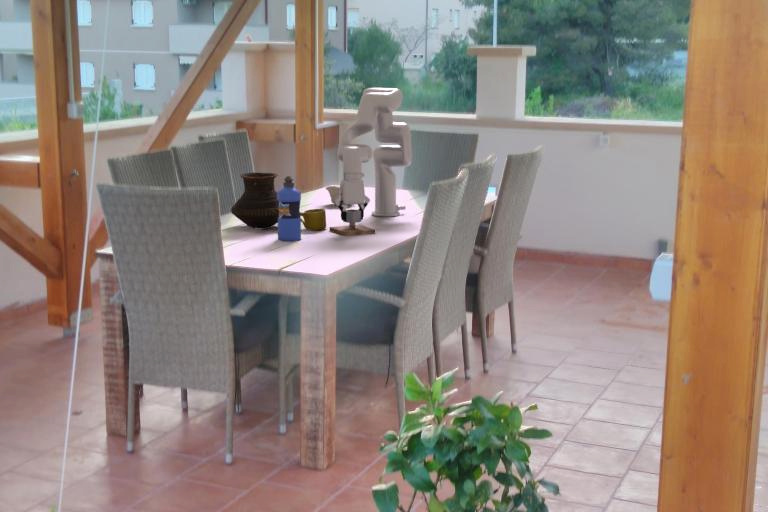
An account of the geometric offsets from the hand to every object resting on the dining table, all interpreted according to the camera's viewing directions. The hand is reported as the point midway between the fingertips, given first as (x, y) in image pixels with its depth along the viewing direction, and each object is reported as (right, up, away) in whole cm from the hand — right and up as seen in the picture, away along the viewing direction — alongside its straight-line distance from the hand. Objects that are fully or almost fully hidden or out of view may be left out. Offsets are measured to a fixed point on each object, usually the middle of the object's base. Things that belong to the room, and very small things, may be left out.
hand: (352, 219), depth 429 cm
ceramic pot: (-39, -3, +11) cm, 41 cm away
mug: (-17, -4, +7) cm, 19 cm away
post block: (0, -5, +1) cm, 5 cm away
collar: (0, -1, 0) cm, 1 cm away
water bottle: (-24, -9, -17) cm, 31 cm away
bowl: (-8, +10, +75) cm, 76 cm away
